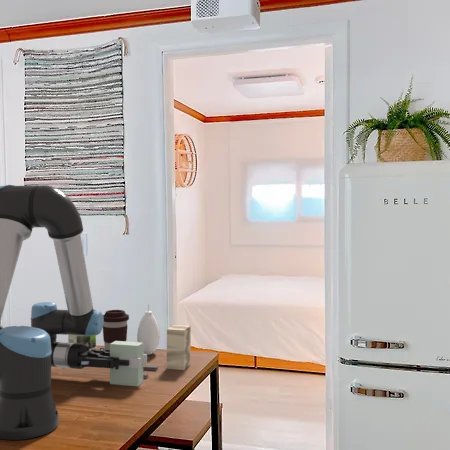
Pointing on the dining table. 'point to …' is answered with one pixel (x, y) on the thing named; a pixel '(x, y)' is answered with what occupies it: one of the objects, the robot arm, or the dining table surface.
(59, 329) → the robot arm
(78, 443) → the dining table surface
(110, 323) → the travel mug
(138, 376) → the pale green block
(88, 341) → the can
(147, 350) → the sauce bottle
